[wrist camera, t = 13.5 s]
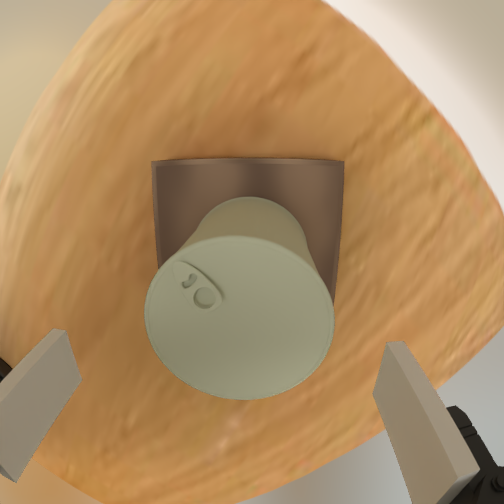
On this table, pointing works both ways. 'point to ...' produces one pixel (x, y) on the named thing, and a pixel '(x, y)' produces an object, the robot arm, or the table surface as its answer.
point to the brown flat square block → (251, 185)
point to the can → (241, 304)
